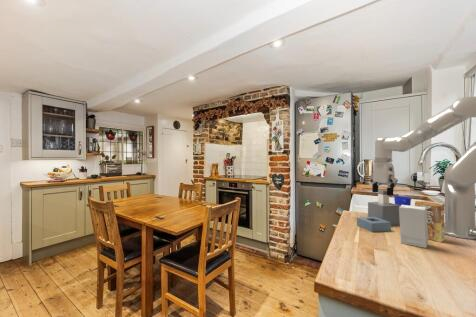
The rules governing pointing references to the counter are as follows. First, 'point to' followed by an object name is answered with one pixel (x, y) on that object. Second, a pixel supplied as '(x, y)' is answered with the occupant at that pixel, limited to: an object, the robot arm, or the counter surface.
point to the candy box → (434, 219)
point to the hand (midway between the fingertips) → (382, 193)
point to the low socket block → (373, 224)
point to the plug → (383, 197)
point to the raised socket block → (384, 212)
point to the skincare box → (413, 225)
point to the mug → (402, 200)
